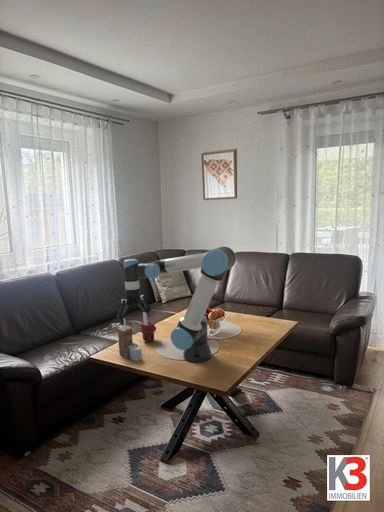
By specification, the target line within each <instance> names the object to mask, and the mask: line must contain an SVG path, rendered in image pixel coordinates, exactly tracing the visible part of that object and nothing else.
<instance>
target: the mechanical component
mask: <svg viewBox="0 0 384 512" xmlns="http://www.w3.org/2000/svg"><path fill="white" fill-rule="evenodd" d="M147 322H148V325H145V324H144V321H143V322H141V323H140V328H139V332H140V333H141V334H142V340H143V341H145V343H147V344H149V343H150V342H153V341H155V332H156V331H157V327H156V325H155V321H152V320H147Z"/></svg>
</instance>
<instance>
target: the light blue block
mask: <svg viewBox="0 0 384 512" xmlns="http://www.w3.org/2000/svg"><path fill="white" fill-rule="evenodd" d="M126 347H128V353H129V358H128V359H131V360H133V361H135V362H139V361H141V360H143V356H142V355H143V354H142V353H143V352H142V348H141V347H139V346H138V347H136V346H134V345H133V344H130V345H126Z"/></svg>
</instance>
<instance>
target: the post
mask: <svg viewBox="0 0 384 512" xmlns="http://www.w3.org/2000/svg"><path fill="white" fill-rule="evenodd" d="M116 330H117V336H118V337H117V338H118V348H119V349H118V352H119V355H121V356H122V358H124V359H126V360H127V359H130V358H129V353H128V347H126V345H130V344H133V345H134V346H136V347H139V345H138V344H137V343H135V342H134V341H133V327H130V326H128V325H126V331H123V330H122V327H119V328H117V329H116Z"/></svg>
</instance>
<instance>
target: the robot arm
mask: <svg viewBox="0 0 384 512" xmlns="http://www.w3.org/2000/svg"><path fill="white" fill-rule="evenodd" d="M236 257H237V256H236V254H235V251H234V250H233V249H231V248H230V247H229V246H228V247H227V246H220V247H217V248H212V249H210V250H209V251H207V252H203V253H195V254H190V255H183V256H177V257H170V258H161V259H157V260H154V261H150V262H148V263H140V262H138V259H136V258H128V259H125V260H124V261H123V273H124V275H123V276H124V287H125V288H124V289H125V291H124V292H125V299H120V304H119V307H118V310H117V313H116V316H115V318H117V319H119V323H120V324H119V325H121V328H122V330H123V331H126V326H127V325H126V318H125V317H126V315H127V313H128V311H129V310H130V309H131V307H135V306H138V307H139V308H140V309H141V310H142V311H143V312H142V319H143V322H144V324H145V325H148V322H147V321H148V319H149V313H150V312H151V310H152V308H151V307H150V305H149V303H148V301H147V299H146V295H144V294H141V291H140V290H141V289H140V278H141V279H157V278H158V277H159V276H160V275H161V274H168V273H174V272H175V273H177V272H182V271H183V272H184V271H190V270H197V269H200V271H199V272H200V274H201V276H200V278H199V281H198V283H197V285H196V288H195V290H194V292H193V296H192V298H191V300H190V302H189V304H188V307H187V309H186V311H185V313H184V316H181V317H180V318H179V321H178V323H177V326H175V328H174V329H172V330H171V333H170V341H171V343H172V345H173V346H174V347H175V348H176V349H178V350H180V351H183V354H182V355H183V359H184V360H185V361H188V362H190V363H191V362H192V363H204V362H206V361H209V360H210V359H211V358H212V351H211V348H210V344H209V342H208V339H209V338H208V318H207V316H206V315H205V314H206V311H207V309H208V307H209V305H210V302H211V300H212V298H213V295H214V293H215V291H216V288H217V286H218V283H221V282H223V280H224V278H225V276H226V275H227V272H228V271H229V270H231V268H232V267H234V265H235V263H236V260H237V259H236ZM140 300H141V301H140ZM142 303H143V304H142Z"/></svg>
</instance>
